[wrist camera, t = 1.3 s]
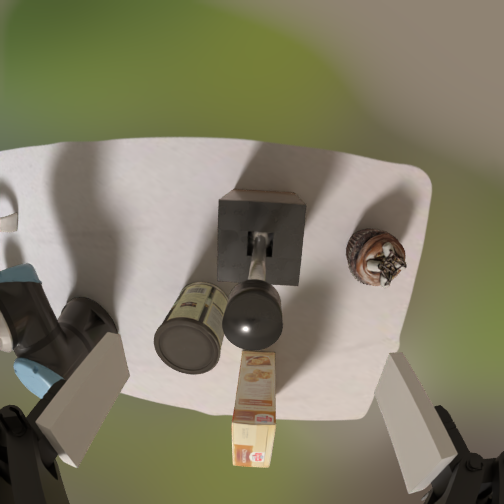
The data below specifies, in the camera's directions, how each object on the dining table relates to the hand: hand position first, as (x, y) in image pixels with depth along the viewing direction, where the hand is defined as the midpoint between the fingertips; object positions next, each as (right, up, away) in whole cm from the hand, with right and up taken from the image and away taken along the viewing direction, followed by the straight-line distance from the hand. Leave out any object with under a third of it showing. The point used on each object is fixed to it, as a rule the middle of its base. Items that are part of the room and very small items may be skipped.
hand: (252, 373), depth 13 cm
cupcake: (+21, +6, +36) cm, 42 cm away
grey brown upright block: (+2, +11, +36) cm, 37 cm away
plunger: (+1, +7, +24) cm, 25 cm away
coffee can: (-9, -5, +41) cm, 43 cm away
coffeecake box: (+1, -21, +46) cm, 51 cm away
